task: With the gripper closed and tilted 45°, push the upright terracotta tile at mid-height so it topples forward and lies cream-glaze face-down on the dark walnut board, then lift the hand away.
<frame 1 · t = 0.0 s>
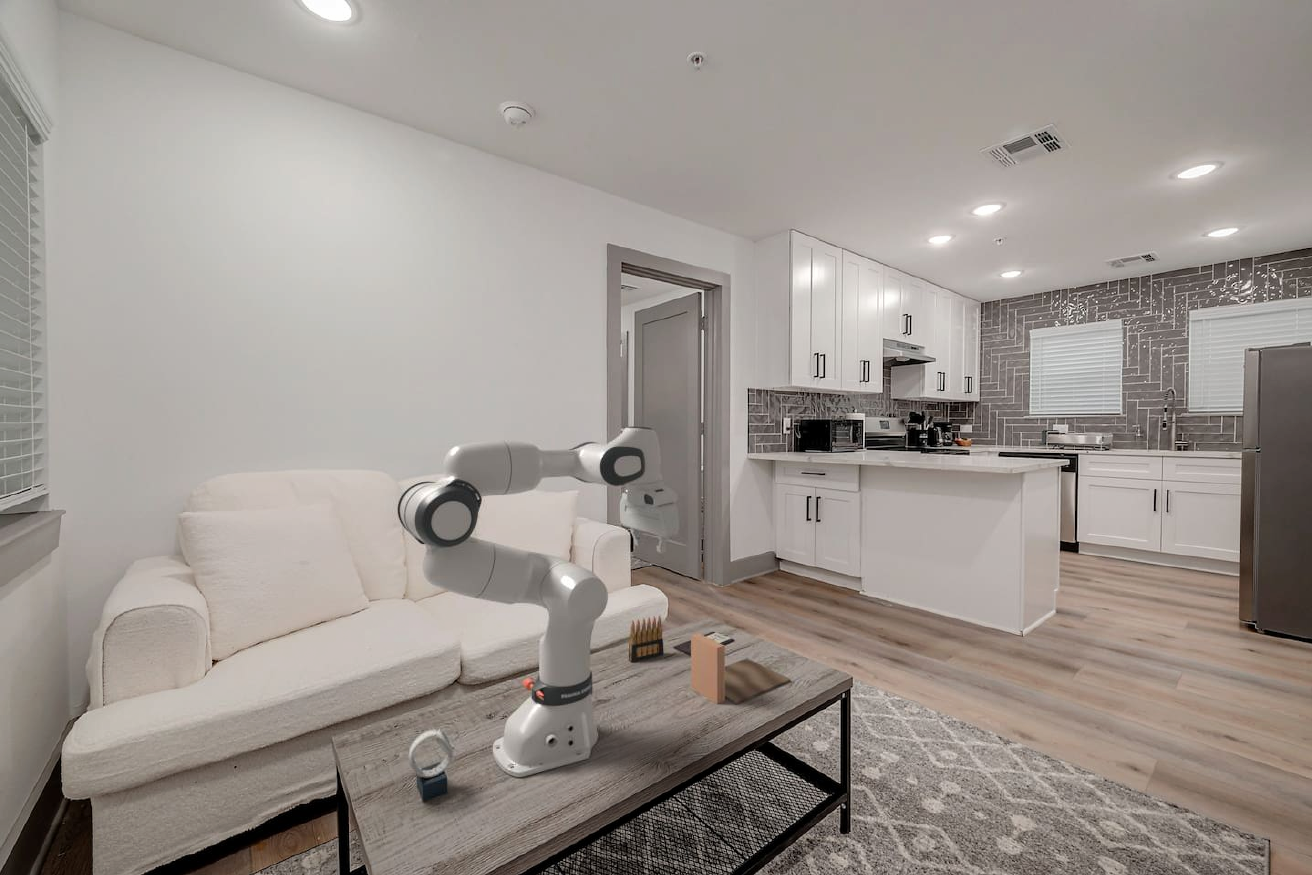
hand: (650, 548, 133), 39 cm above the table, tool pointing down, fingers open, 8 cm apart
terracotta tile: (707, 694, 140), on the table
walnut board: (742, 680, 147), on the table
chocolate bar: (704, 646, 171), on the table
watch: (432, 790, 104), on the table
ammunition clip: (646, 658, 162), on the table
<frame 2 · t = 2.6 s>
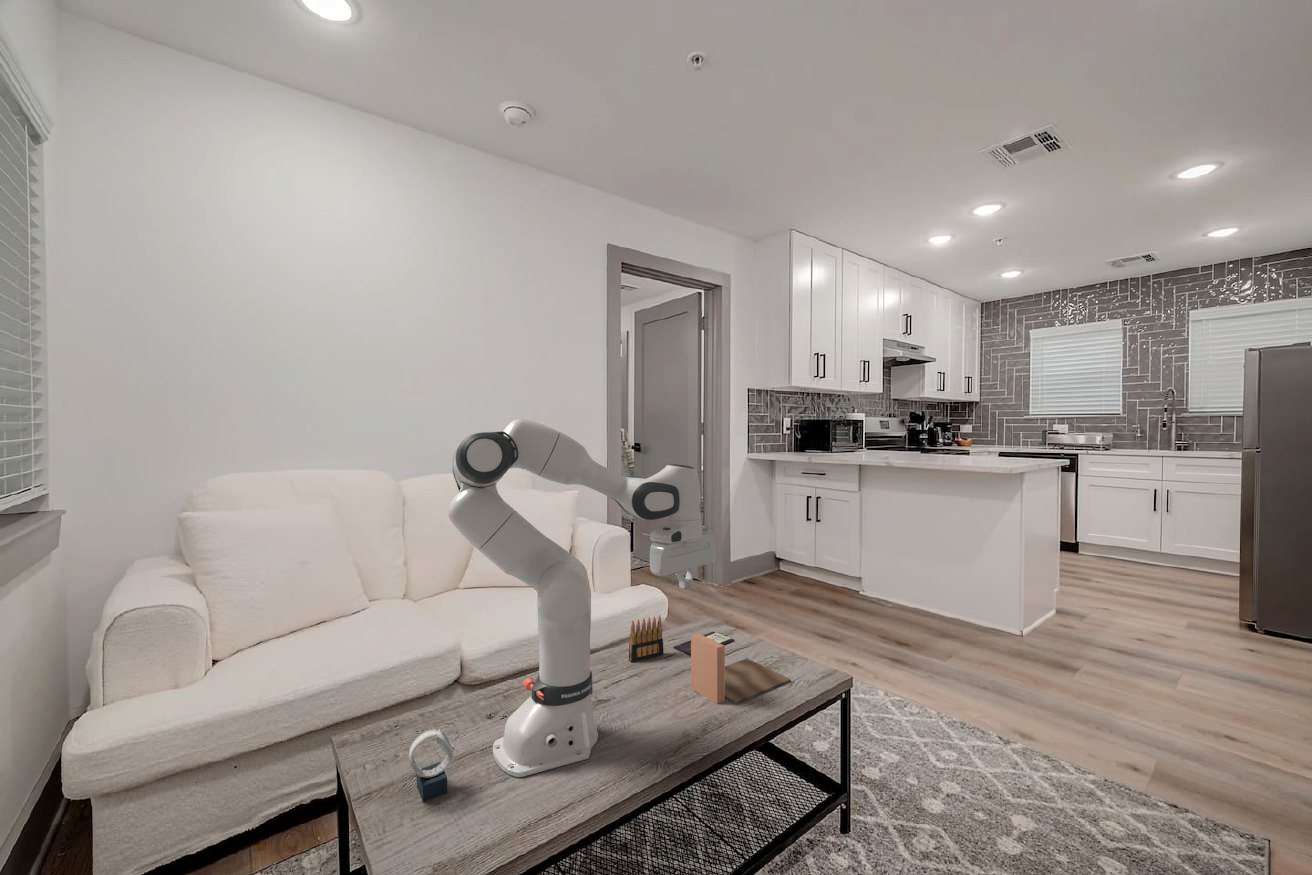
hand: (685, 587, 134), 29 cm above the table, tool pointing down, fingers closed
nothing on the table moved.
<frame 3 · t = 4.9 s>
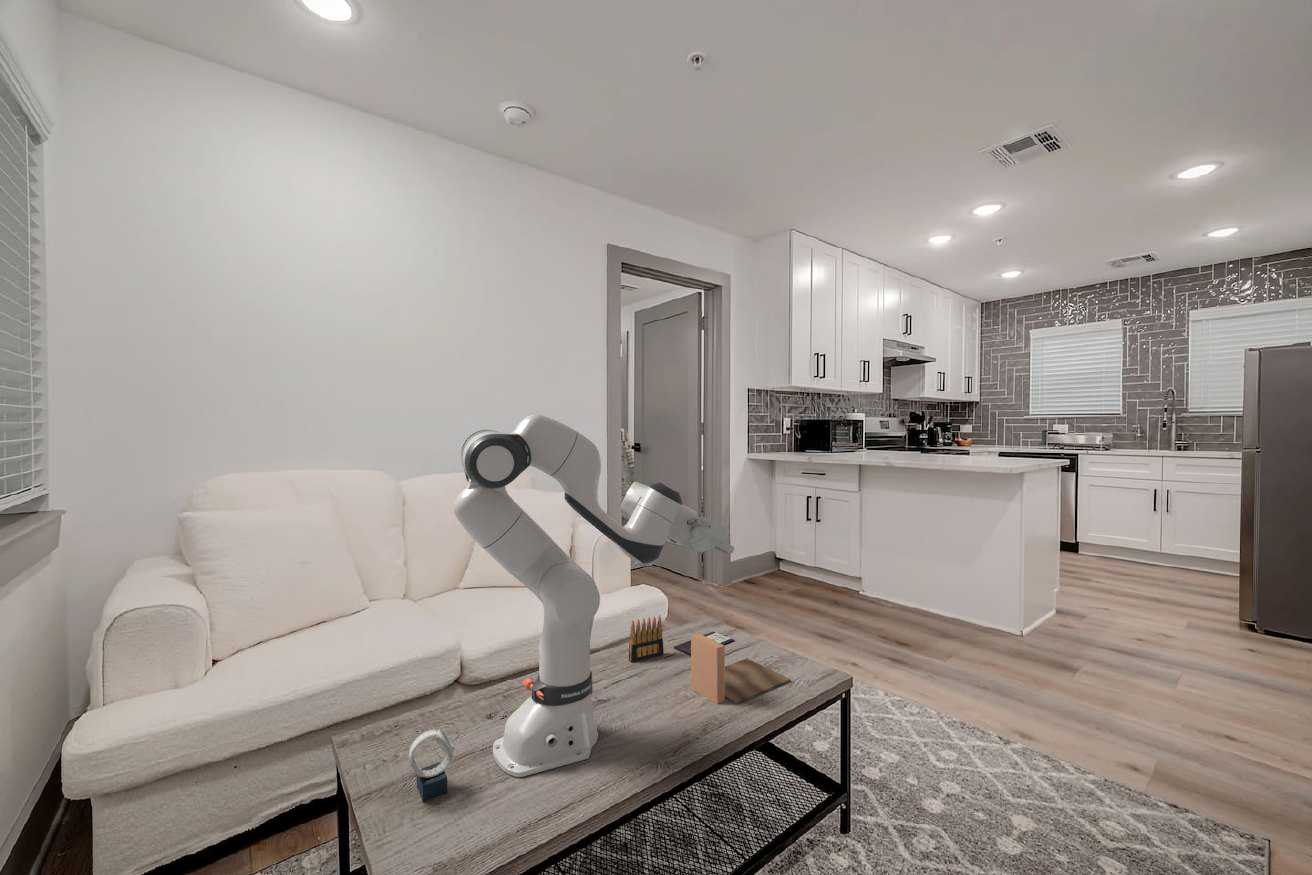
hand: (731, 551, 136), 37 cm above the table, tool tilted 60°, fingers closed
nothing on the table moved.
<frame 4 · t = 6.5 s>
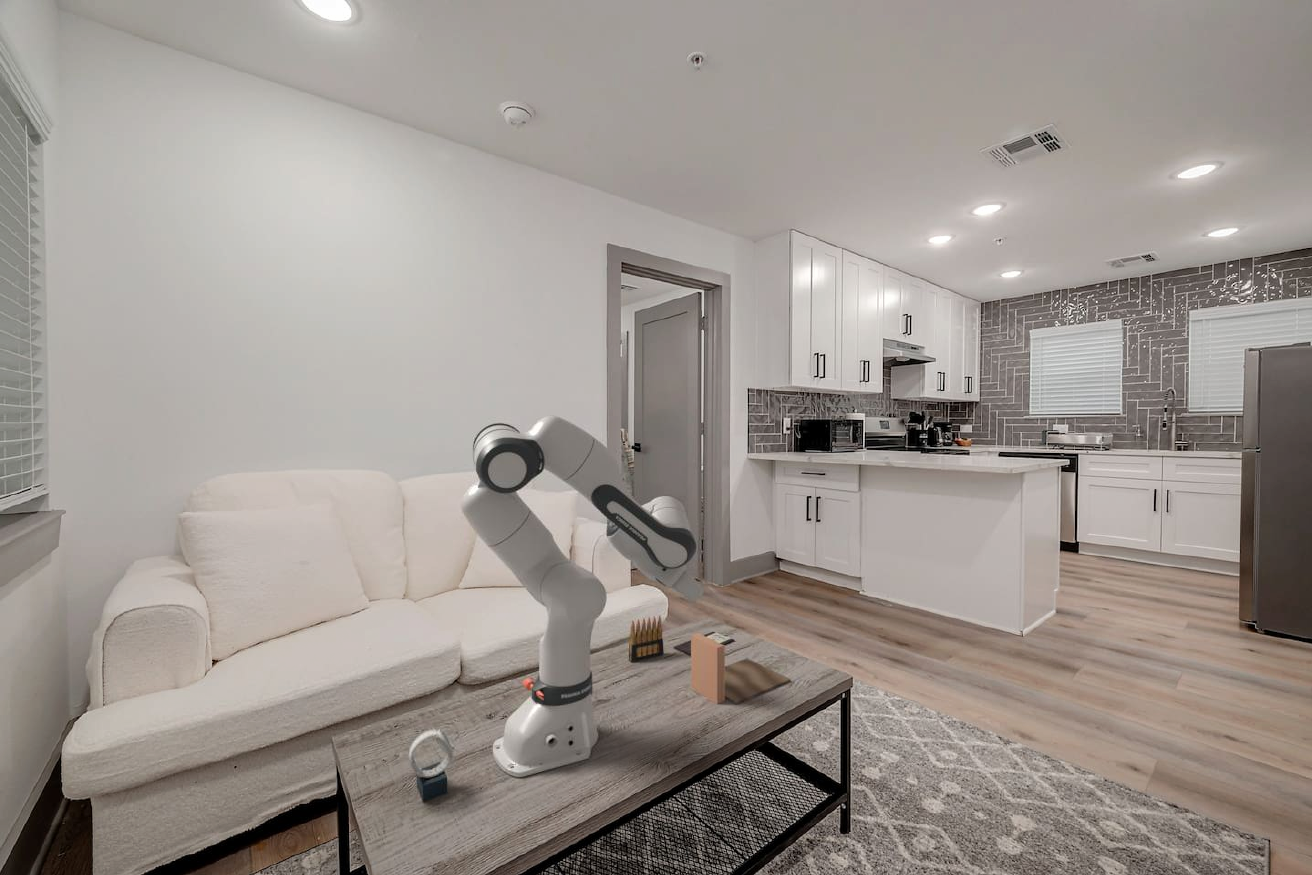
hand: (690, 592, 136), 27 cm above the table, tool tilted 45°, fingers closed
nothing on the table moved.
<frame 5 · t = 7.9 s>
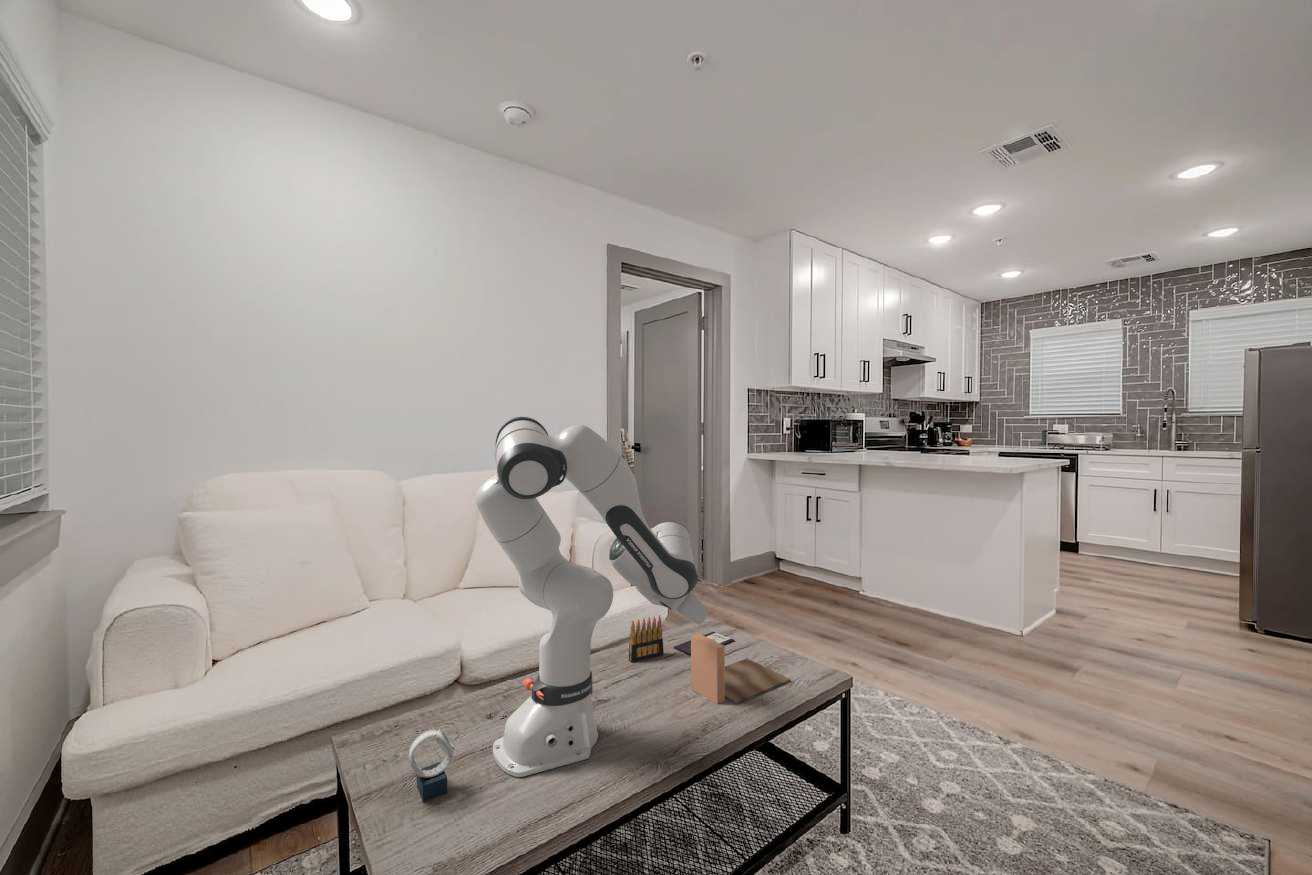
hand: (692, 615, 135), 22 cm above the table, tool tilted 45°, fingers closed
nothing on the table moved.
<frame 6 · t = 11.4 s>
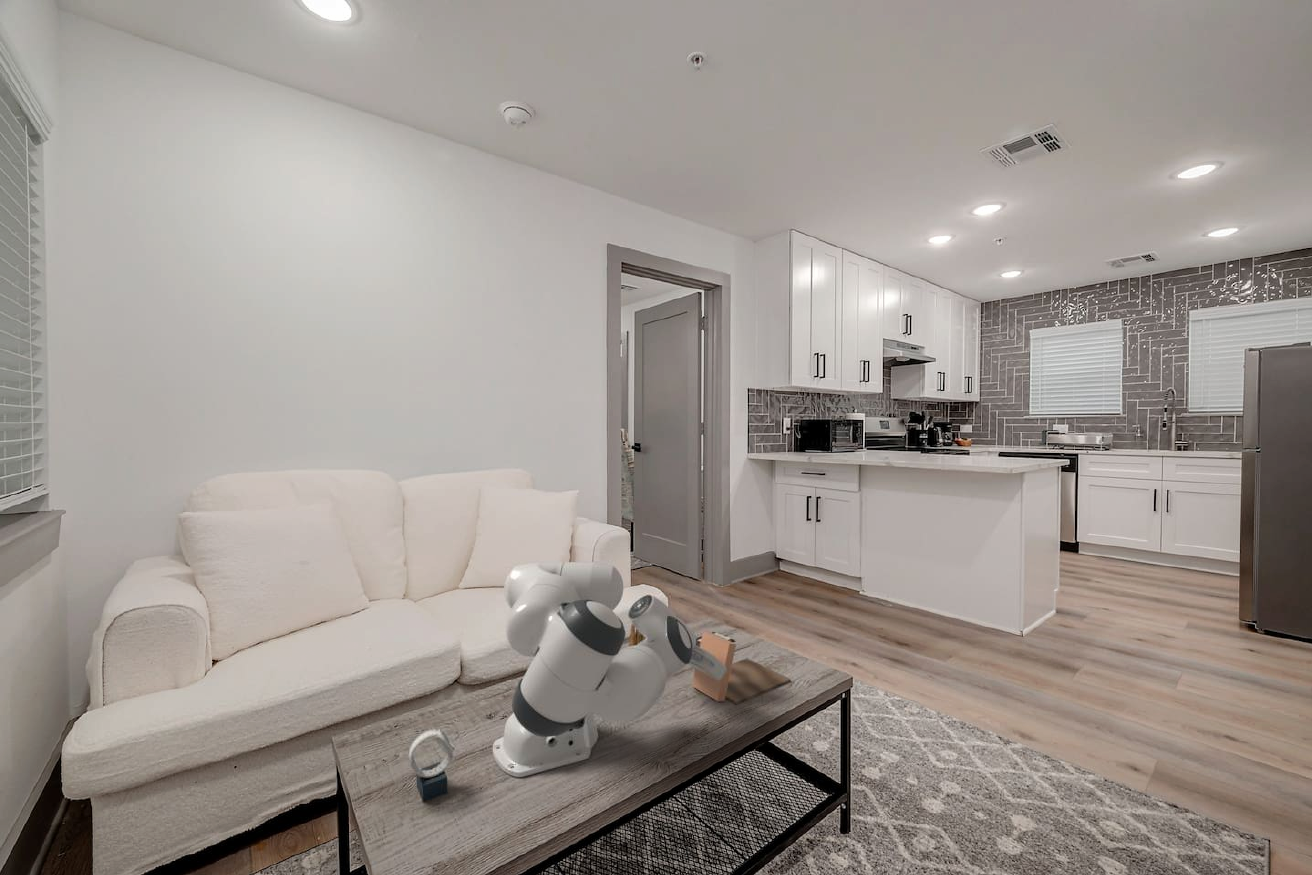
hand: (708, 671, 139), 6 cm above the table, tool tilted 45°, fingers closed
terracotta tile: (707, 693, 140), on the table, tilted 17°
everything else where it was.
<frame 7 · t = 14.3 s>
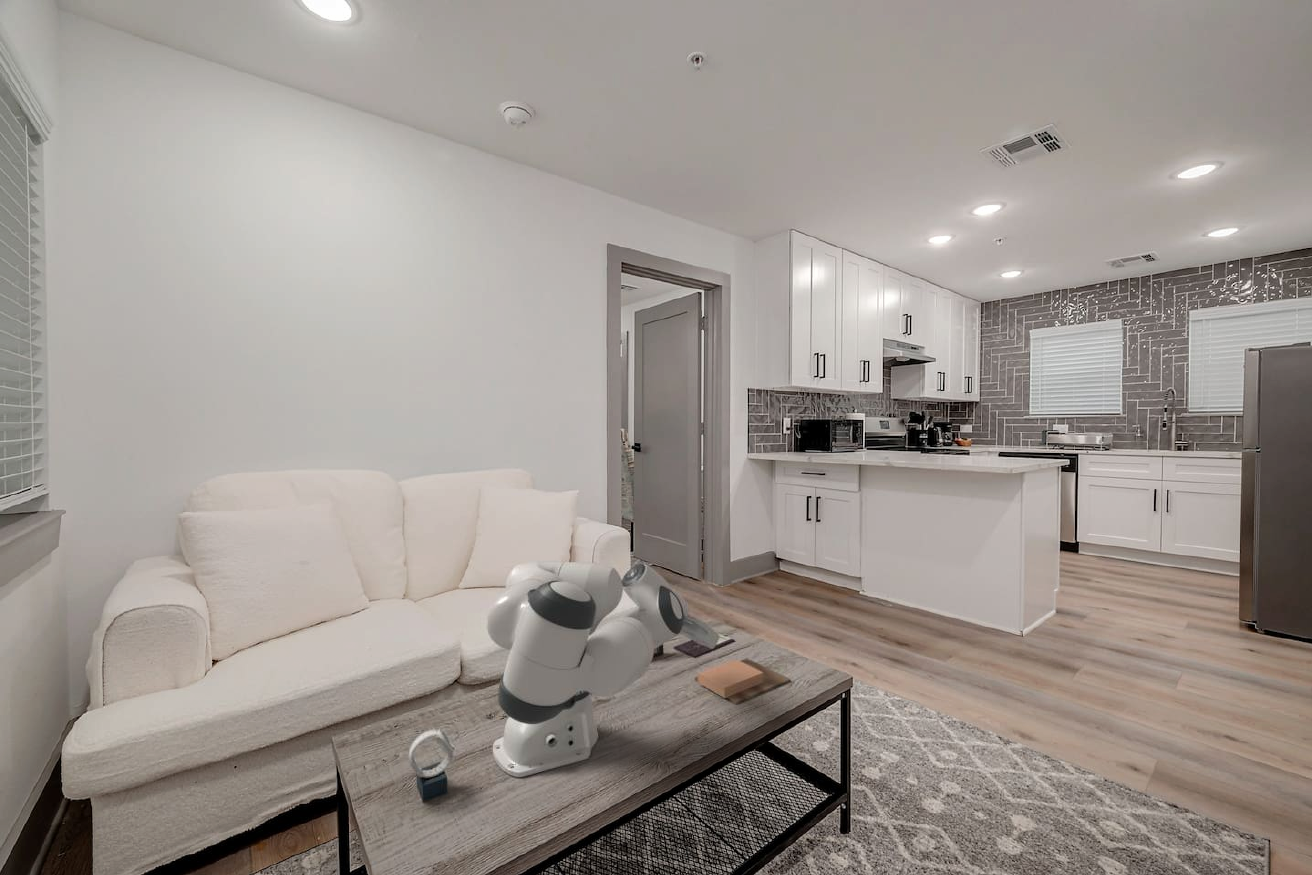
hand: (700, 640, 139), 14 cm above the table, tool tilted 45°, fingers closed
terracotta tile: (710, 684, 141), point 2 cm above the table, tilted 90°, touching walnut board
everything else where it was.
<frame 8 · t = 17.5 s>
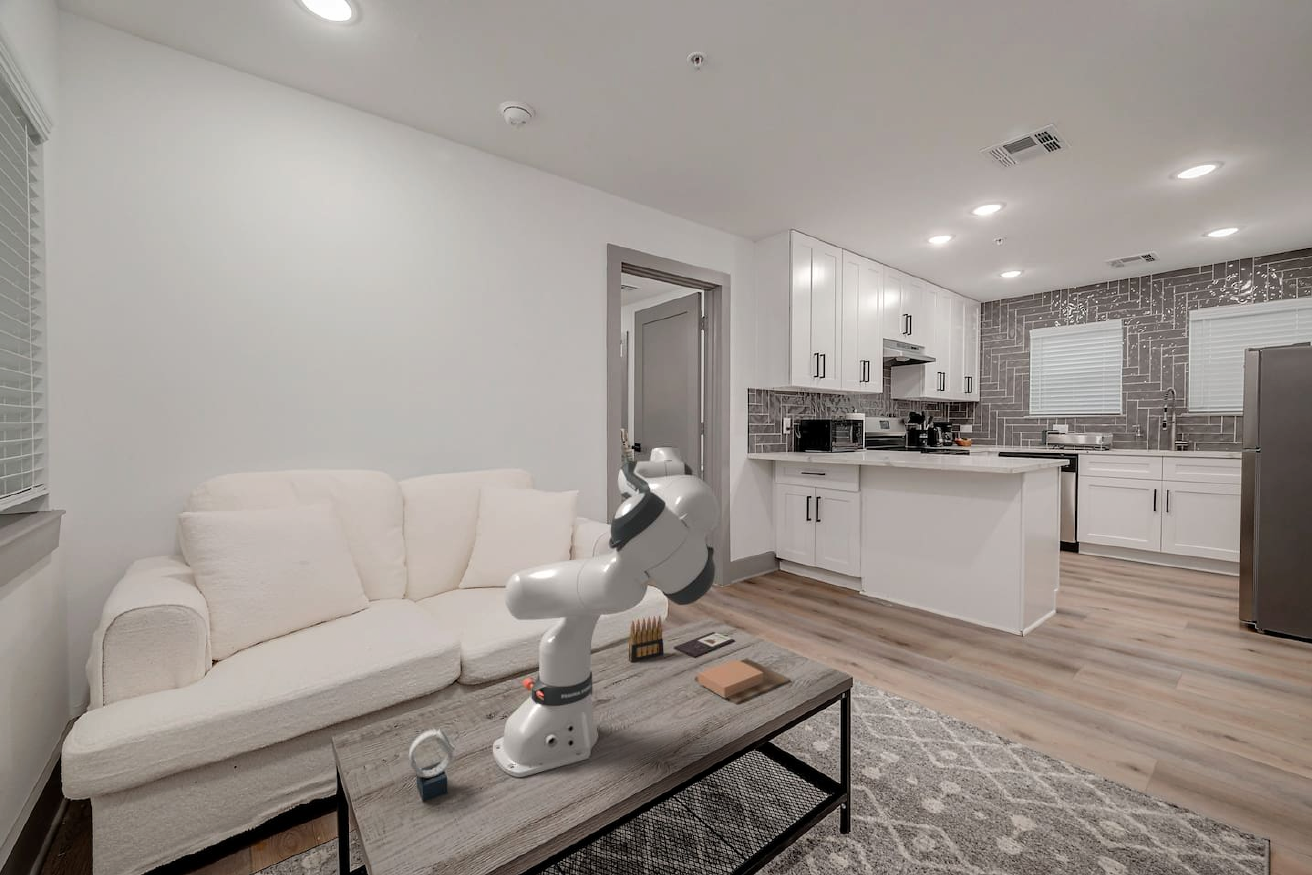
hand: (666, 558, 146), 33 cm above the table, tool pointing down, fingers closed
nothing on the table moved.
at the end: terracotta tile tilted 90°; terracotta tile touching walnut board; the gripper is holding nothing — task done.
